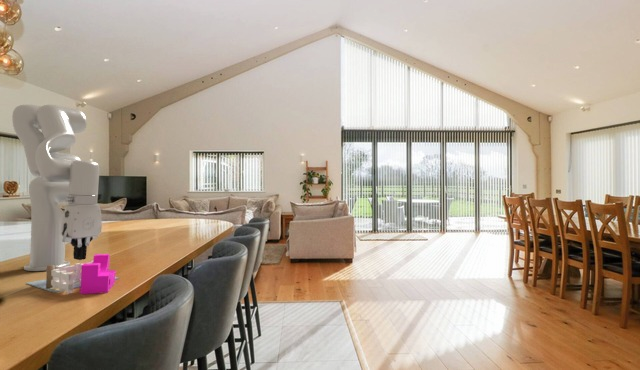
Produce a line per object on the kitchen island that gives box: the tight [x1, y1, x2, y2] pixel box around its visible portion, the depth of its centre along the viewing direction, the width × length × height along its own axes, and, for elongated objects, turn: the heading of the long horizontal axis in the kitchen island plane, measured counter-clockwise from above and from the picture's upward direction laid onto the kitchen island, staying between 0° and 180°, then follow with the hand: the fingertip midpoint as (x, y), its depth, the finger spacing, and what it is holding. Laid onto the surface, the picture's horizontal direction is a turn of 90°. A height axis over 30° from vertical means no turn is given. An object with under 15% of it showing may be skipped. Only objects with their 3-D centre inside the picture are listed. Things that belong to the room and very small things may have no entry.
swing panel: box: [57, 260, 93, 281], centre depth 103 cm, size 10×1×5 cm, turn 153°
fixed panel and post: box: [45, 265, 74, 294], centre depth 95 cm, size 11×2×6 cm, turn 61°
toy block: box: [79, 253, 116, 295], centre depth 100 cm, size 15×6×8 cm, turn 21°
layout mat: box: [25, 276, 120, 294], centre depth 105 cm, size 16×18×1 cm
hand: (79, 258), depth 109 cm, fingers closed
